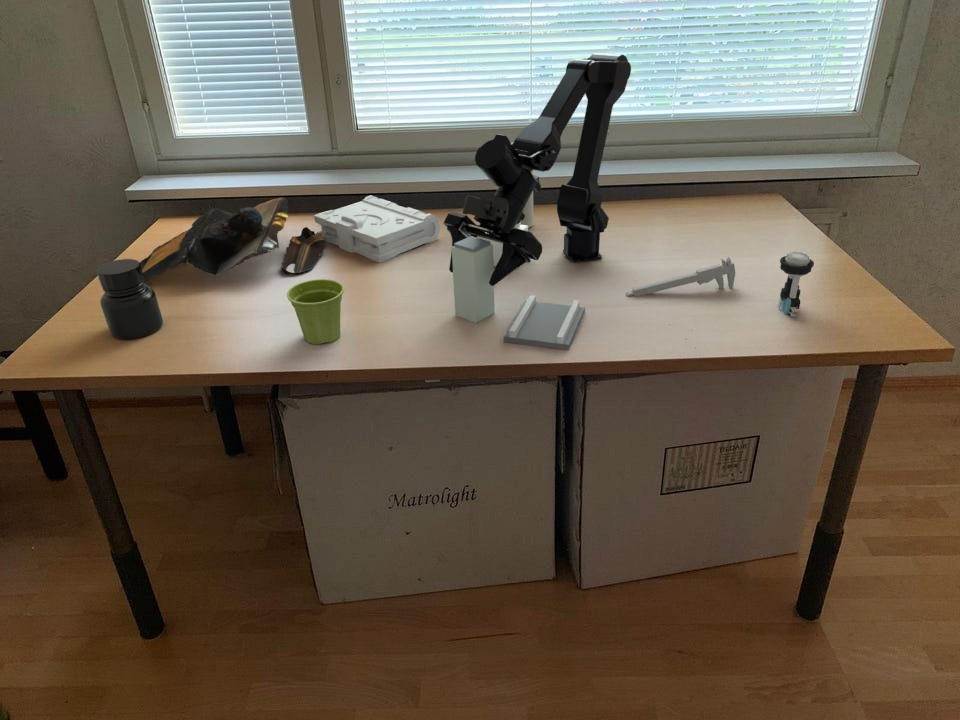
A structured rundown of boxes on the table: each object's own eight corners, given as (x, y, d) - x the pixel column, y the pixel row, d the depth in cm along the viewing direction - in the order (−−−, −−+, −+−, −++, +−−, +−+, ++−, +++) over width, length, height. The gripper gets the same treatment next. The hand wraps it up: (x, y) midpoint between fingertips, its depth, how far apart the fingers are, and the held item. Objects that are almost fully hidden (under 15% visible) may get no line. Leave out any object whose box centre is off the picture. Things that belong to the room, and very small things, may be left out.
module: (473, 305, 131) (470, 235, 124) (494, 312, 128) (492, 241, 121) (455, 315, 128) (451, 243, 121) (476, 323, 125) (473, 250, 118)
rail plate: (525, 305, 130) (525, 294, 129) (584, 312, 127) (585, 301, 126) (503, 341, 119) (503, 330, 118) (568, 350, 116) (568, 338, 115)
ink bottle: (160, 312, 133) (143, 252, 126) (171, 330, 126) (153, 267, 120) (104, 326, 128) (83, 265, 122) (112, 346, 122) (90, 282, 116)
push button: (809, 319, 122) (821, 265, 117) (776, 318, 123) (787, 264, 118) (798, 302, 128) (810, 250, 123) (768, 301, 128) (778, 249, 123)
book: (367, 214, 178) (363, 184, 174) (444, 240, 161) (441, 207, 157) (302, 237, 167) (296, 205, 163) (377, 267, 149) (372, 233, 145)
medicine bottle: (528, 257, 150) (528, 201, 144) (515, 270, 144) (515, 213, 138) (497, 252, 153) (496, 198, 146) (483, 265, 147) (482, 209, 141)
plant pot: (361, 328, 124) (354, 283, 120) (330, 354, 117) (322, 306, 113) (316, 320, 128) (309, 275, 123) (284, 344, 120) (274, 298, 116)
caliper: (730, 286, 135) (735, 255, 132) (733, 289, 134) (738, 258, 131) (625, 295, 133) (628, 264, 130) (627, 298, 132) (629, 266, 129)
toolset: (115, 301, 135) (99, 187, 144) (158, 342, 153) (141, 239, 163) (322, 247, 140) (293, 140, 149) (339, 293, 158) (313, 195, 167)
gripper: (447, 166, 124) (406, 245, 123) (532, 185, 113) (489, 271, 112) (478, 199, 133) (441, 272, 132) (560, 219, 122) (520, 299, 121)
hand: (470, 278), depth 124 cm, fingers open, 9 cm apart
